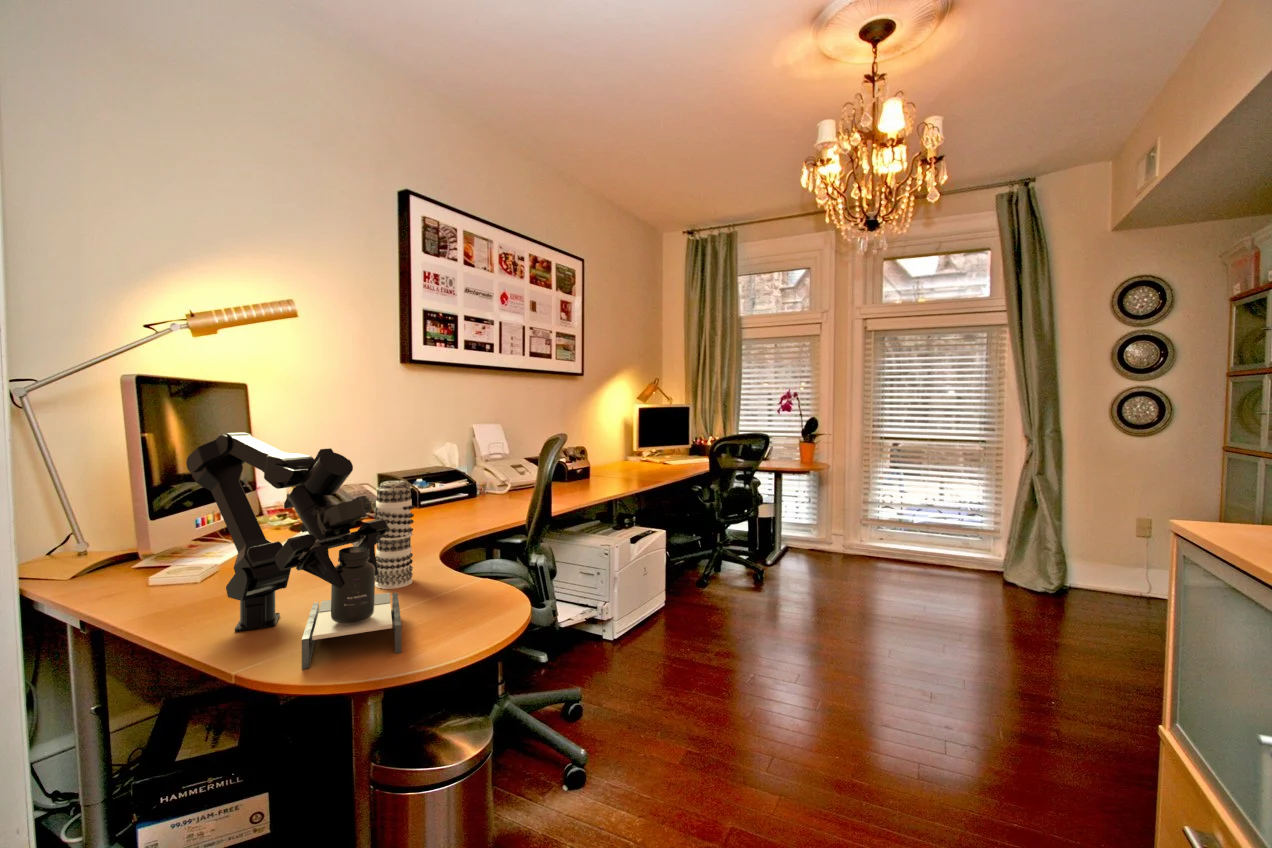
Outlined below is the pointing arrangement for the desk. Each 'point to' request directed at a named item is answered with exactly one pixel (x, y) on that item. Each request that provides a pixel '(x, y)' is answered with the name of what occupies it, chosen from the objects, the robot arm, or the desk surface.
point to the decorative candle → (394, 535)
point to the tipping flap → (376, 622)
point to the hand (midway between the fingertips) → (359, 580)
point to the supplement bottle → (353, 586)
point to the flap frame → (309, 629)
